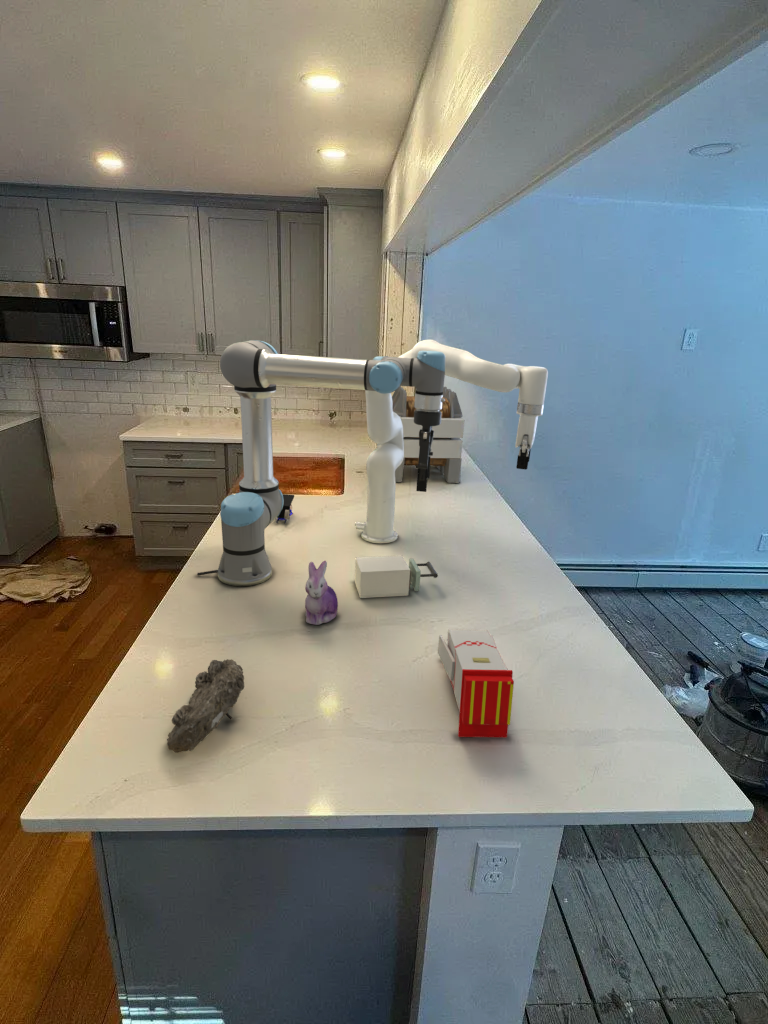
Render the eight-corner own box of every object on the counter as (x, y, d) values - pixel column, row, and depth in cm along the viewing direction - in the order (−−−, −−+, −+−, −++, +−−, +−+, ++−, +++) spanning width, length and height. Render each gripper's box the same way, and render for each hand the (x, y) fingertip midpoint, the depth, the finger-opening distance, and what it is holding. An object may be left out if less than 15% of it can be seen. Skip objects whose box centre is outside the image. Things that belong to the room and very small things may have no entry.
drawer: (429, 576, 167) (430, 557, 165) (437, 589, 159) (438, 570, 157) (370, 579, 163) (370, 560, 161) (375, 593, 156) (376, 573, 154)
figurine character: (290, 529, 203) (295, 510, 216) (289, 510, 200) (294, 492, 213) (271, 528, 203) (277, 510, 216) (270, 509, 199) (276, 492, 213)
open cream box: (400, 579, 166) (402, 555, 163) (408, 595, 157) (410, 569, 155) (354, 582, 163) (355, 557, 161) (360, 598, 155) (360, 571, 152)
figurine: (310, 630, 138) (310, 574, 133) (296, 610, 147) (296, 557, 141) (346, 622, 142) (347, 568, 137) (330, 603, 151) (331, 552, 146)
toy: (488, 613, 130) (523, 677, 101) (484, 667, 133) (517, 744, 104) (435, 612, 130) (455, 676, 101) (432, 666, 133) (451, 743, 103)
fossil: (192, 660, 117) (244, 628, 112) (224, 691, 120) (276, 661, 115) (142, 746, 98) (202, 712, 93) (182, 779, 101) (242, 748, 96)
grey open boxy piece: (382, 463, 289) (386, 382, 275) (445, 464, 293) (451, 384, 279) (390, 482, 257) (394, 392, 243) (460, 483, 261) (468, 394, 247)
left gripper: (440, 418, 143) (434, 498, 150) (443, 403, 166) (437, 473, 173) (410, 416, 144) (405, 496, 151) (417, 402, 167) (413, 471, 174)
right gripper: (519, 404, 177) (512, 457, 183) (514, 412, 162) (507, 470, 168) (543, 406, 175) (536, 459, 181) (541, 415, 160) (533, 473, 166)
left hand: (422, 484), depth 162 cm, fingers open, 13 cm apart
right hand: (522, 464), depth 174 cm, fingers open, 9 cm apart
